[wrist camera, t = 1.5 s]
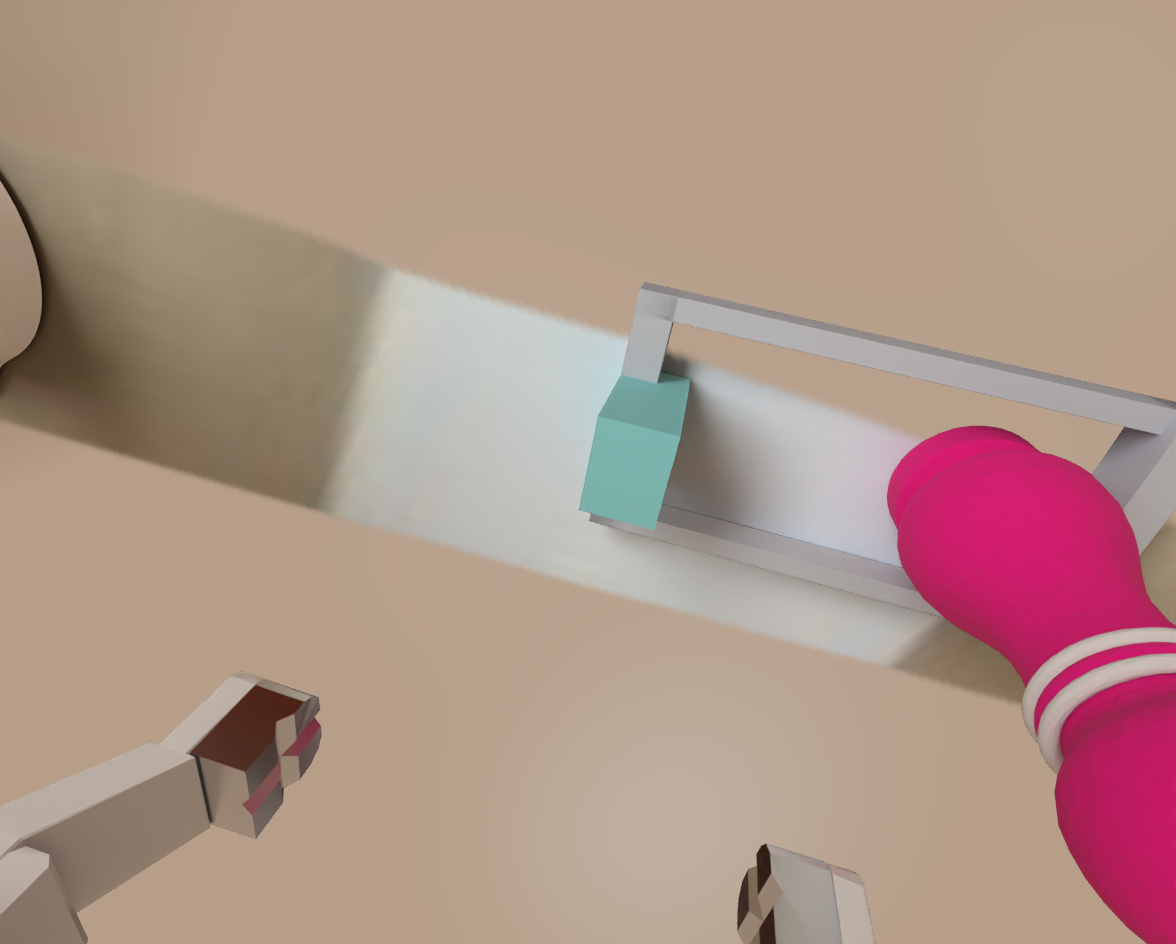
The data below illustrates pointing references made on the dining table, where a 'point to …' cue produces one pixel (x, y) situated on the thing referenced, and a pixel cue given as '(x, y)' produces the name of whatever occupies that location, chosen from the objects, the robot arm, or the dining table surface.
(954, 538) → the pepper mill
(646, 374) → the grey rectangular frame
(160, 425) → the dining table surface
